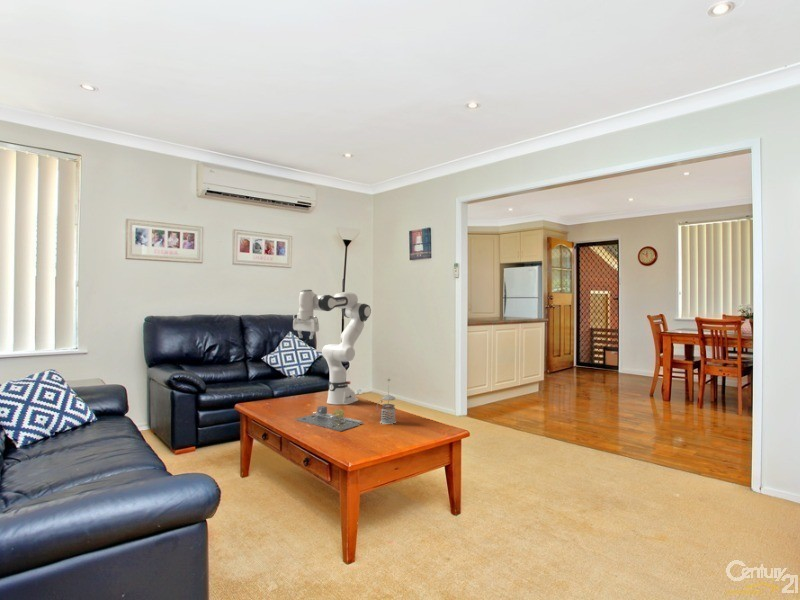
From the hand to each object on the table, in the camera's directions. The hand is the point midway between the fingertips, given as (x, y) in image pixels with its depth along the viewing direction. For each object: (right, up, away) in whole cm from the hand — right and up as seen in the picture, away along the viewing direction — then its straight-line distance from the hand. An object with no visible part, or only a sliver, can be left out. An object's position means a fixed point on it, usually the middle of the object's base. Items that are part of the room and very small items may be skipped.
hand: (305, 338), depth 284 cm
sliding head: (+21, -44, -19) cm, 52 cm away
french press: (+50, -46, -22) cm, 72 cm away
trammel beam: (+21, -45, -19) cm, 54 cm away
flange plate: (+17, -45, -25) cm, 54 cm away
